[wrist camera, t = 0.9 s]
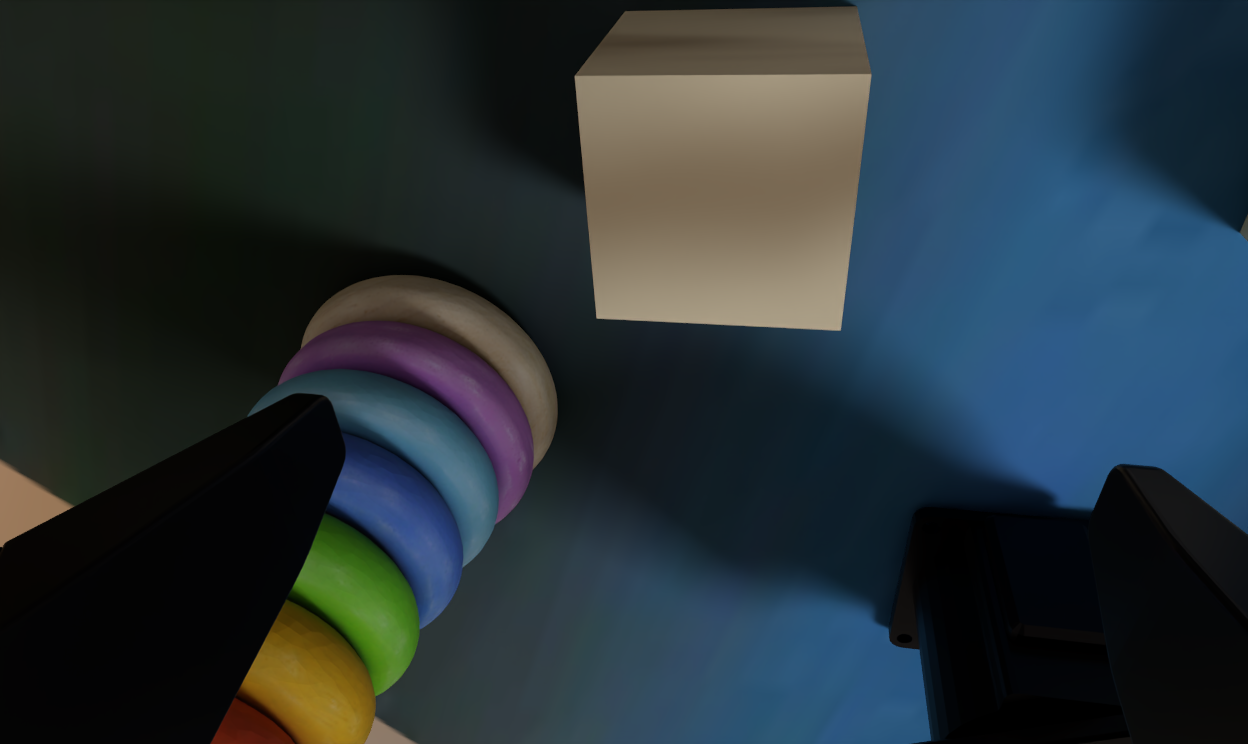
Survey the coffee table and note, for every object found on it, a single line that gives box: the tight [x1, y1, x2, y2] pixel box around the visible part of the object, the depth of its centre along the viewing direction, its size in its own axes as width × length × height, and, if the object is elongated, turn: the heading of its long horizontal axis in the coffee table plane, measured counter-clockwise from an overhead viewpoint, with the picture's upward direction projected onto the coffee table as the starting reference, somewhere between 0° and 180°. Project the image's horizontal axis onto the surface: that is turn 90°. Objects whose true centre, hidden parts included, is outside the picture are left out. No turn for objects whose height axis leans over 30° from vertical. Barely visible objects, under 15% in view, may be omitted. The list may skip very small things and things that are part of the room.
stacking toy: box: [211, 275, 558, 744], centre depth 18 cm, size 8×8×19 cm
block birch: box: [575, 6, 871, 331], centre depth 17 cm, size 5×5×5 cm
